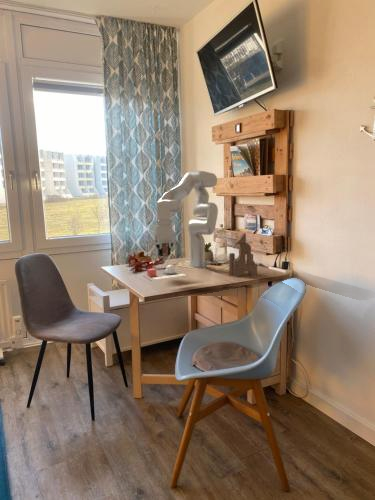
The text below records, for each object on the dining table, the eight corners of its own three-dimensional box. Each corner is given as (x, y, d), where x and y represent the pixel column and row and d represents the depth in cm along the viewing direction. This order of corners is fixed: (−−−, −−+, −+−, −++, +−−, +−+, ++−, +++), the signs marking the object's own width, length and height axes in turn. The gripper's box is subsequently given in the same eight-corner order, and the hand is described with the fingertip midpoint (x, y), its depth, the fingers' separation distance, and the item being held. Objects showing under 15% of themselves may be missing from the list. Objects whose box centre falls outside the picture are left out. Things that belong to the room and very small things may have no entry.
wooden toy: (253, 272, 228) (253, 231, 224) (257, 275, 221) (257, 232, 217) (228, 274, 225) (228, 232, 221) (231, 277, 218) (232, 234, 214)
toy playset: (119, 266, 256) (118, 245, 253) (157, 262, 265) (156, 243, 262) (130, 277, 223) (129, 253, 221) (173, 273, 232) (172, 250, 230)
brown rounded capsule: (166, 255, 215) (166, 241, 214) (169, 256, 212) (169, 242, 210) (159, 255, 213) (159, 241, 212) (162, 256, 210) (162, 242, 208)
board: (178, 273, 230) (177, 264, 229) (188, 277, 218) (188, 268, 217) (142, 277, 220) (142, 268, 219) (151, 283, 207) (151, 273, 206)
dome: (172, 271, 226) (172, 263, 226) (176, 273, 222) (175, 265, 221) (164, 272, 224) (164, 264, 223) (168, 274, 219) (167, 266, 219)
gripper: (174, 221, 217) (175, 253, 219) (147, 223, 209) (148, 255, 212) (180, 222, 210) (181, 255, 213) (152, 224, 202) (153, 257, 205)
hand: (164, 255), depth 212 cm, fingers closed on brown rounded capsule, 4 cm apart
